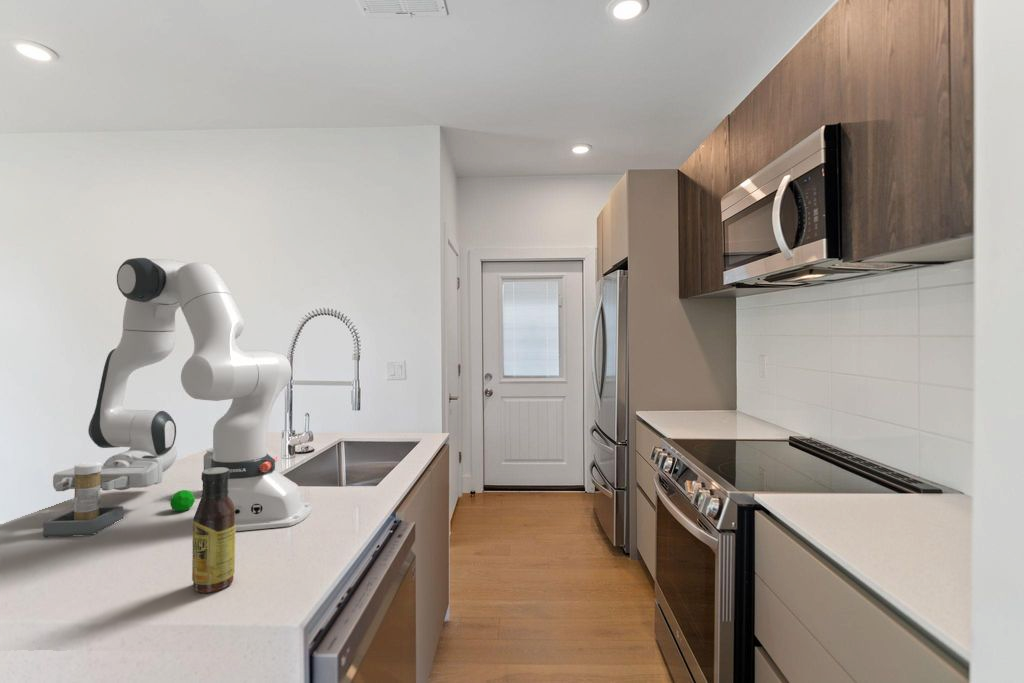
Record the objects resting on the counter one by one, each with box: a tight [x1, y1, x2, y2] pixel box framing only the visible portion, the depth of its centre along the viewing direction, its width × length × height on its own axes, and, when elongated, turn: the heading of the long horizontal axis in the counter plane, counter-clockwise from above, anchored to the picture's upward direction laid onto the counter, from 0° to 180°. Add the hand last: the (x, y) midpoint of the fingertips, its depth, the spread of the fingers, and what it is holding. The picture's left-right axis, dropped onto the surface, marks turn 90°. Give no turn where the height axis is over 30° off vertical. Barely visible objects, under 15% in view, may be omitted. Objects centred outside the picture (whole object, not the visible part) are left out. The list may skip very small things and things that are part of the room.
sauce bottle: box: [191, 467, 236, 594], centre depth 85 cm, size 6×6×20 cm
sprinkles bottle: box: [73, 461, 102, 521], centre depth 110 cm, size 5×5×13 cm
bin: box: [42, 505, 124, 537], centre depth 110 cm, size 10×10×3 cm
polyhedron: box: [169, 489, 196, 512], centre depth 121 cm, size 5×5×5 cm
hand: (82, 487), depth 109 cm, fingers open, 8 cm apart
